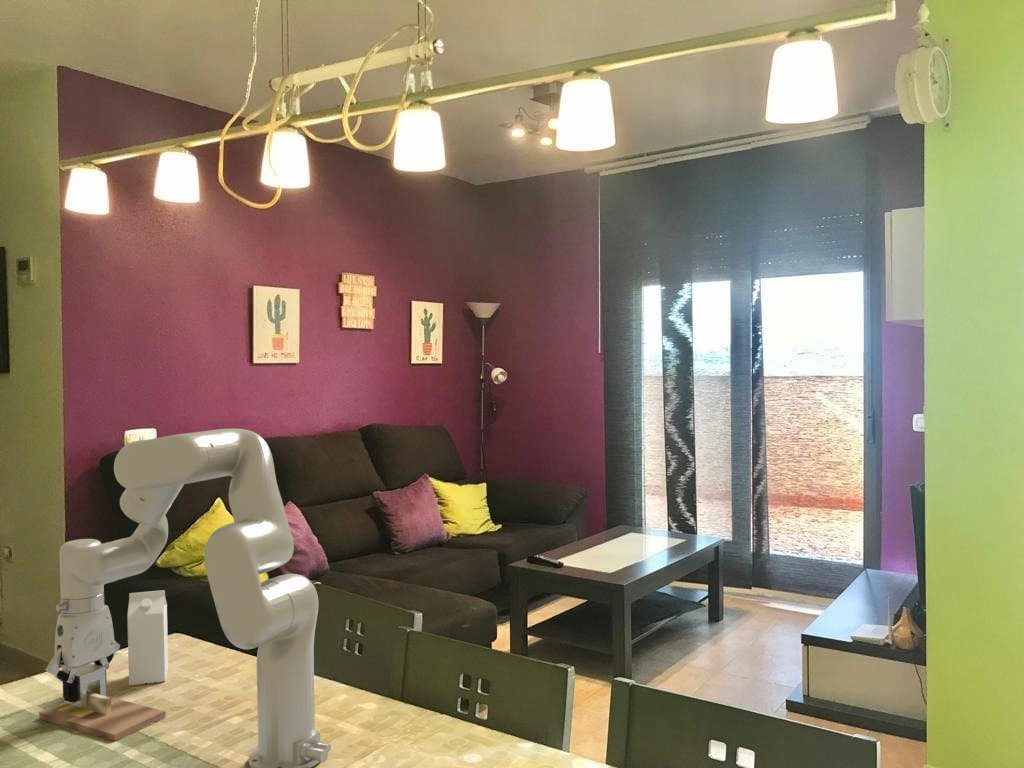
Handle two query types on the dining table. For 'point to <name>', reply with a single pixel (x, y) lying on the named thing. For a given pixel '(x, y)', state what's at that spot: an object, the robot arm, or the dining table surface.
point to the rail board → (103, 716)
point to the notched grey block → (89, 682)
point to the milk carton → (147, 637)
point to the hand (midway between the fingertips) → (85, 694)
